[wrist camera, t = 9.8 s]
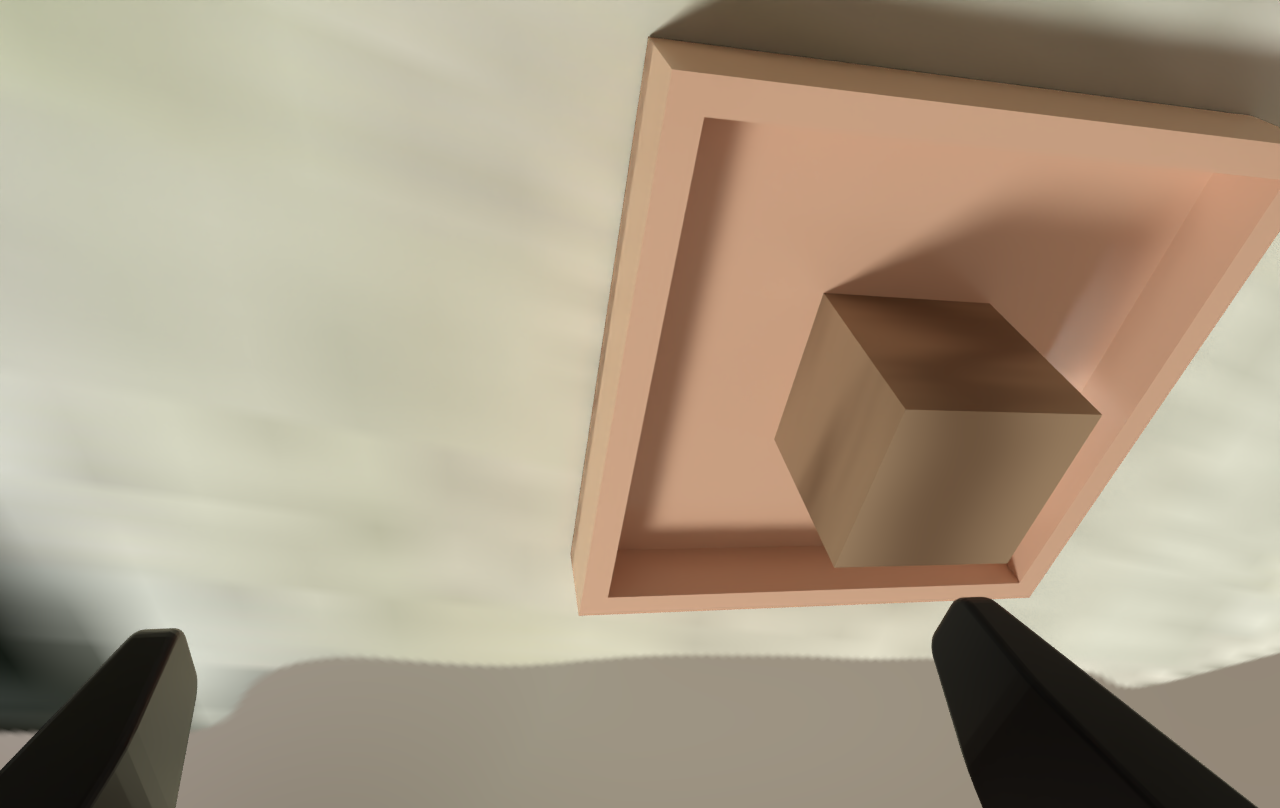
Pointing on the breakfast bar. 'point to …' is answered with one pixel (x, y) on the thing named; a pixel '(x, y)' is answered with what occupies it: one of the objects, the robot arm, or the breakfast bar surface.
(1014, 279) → the terracotta dish
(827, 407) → the walnut cube
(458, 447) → the breakfast bar surface
